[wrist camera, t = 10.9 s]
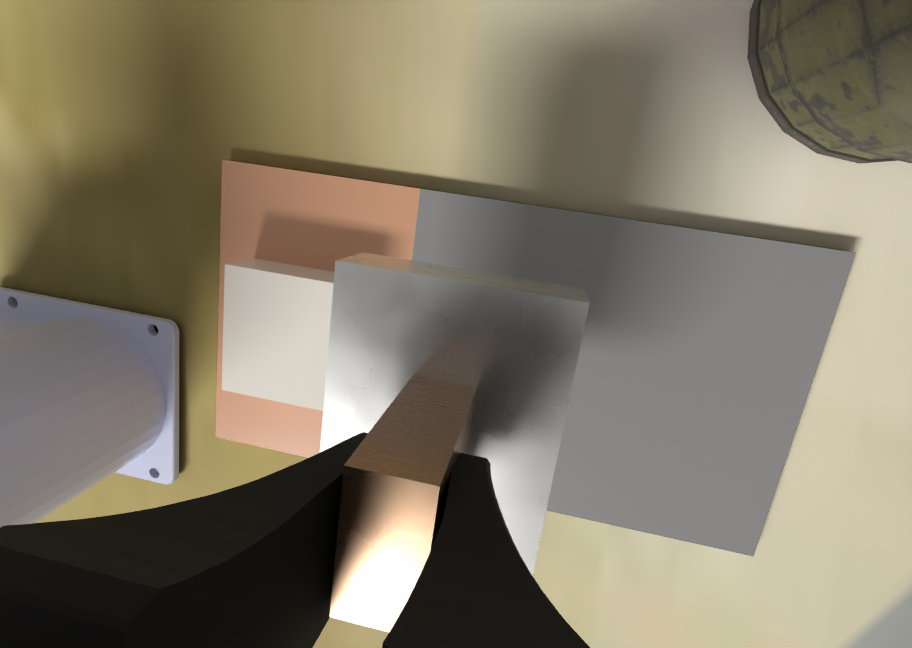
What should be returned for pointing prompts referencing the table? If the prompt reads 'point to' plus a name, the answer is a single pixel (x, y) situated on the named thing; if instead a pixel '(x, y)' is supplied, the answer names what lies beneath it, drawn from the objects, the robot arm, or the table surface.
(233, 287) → the block
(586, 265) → the mat
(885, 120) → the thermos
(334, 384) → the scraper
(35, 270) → the table surface
